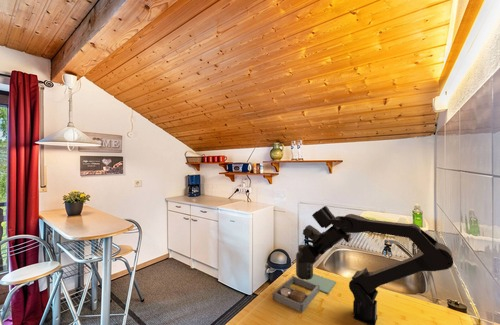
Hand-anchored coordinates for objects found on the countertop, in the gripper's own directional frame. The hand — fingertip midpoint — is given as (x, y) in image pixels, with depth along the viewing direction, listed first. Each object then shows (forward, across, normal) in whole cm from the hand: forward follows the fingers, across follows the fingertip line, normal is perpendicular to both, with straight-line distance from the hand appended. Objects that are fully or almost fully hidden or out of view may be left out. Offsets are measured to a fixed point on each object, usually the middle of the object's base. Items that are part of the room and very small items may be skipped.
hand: (302, 259), depth 91 cm
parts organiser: (+10, +3, +9) cm, 14 cm away
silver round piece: (+12, +8, +7) cm, 16 cm away
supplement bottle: (+4, 0, +6) cm, 7 cm away
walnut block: (+8, +8, +11) cm, 16 cm away
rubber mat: (+7, -11, +12) cm, 17 cm away
